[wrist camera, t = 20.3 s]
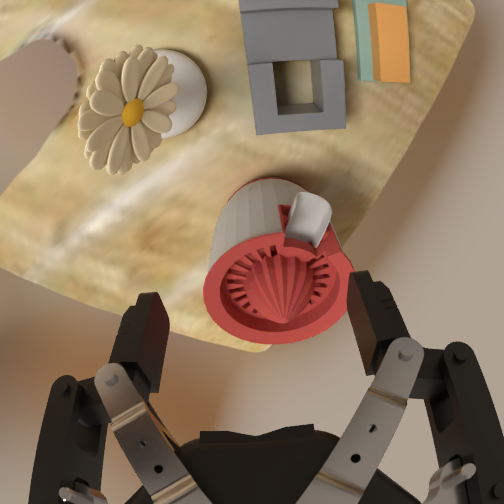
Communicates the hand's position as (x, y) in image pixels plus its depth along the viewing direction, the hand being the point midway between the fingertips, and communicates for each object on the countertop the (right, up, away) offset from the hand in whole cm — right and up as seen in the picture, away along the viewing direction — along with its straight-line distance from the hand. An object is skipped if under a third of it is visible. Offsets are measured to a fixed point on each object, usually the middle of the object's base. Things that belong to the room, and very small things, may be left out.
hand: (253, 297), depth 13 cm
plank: (+16, +27, +16) cm, 36 cm away
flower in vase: (-10, +22, +21) cm, 32 cm away
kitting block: (+4, +25, +19) cm, 32 cm away
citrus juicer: (+3, +8, +32) cm, 33 cm away
